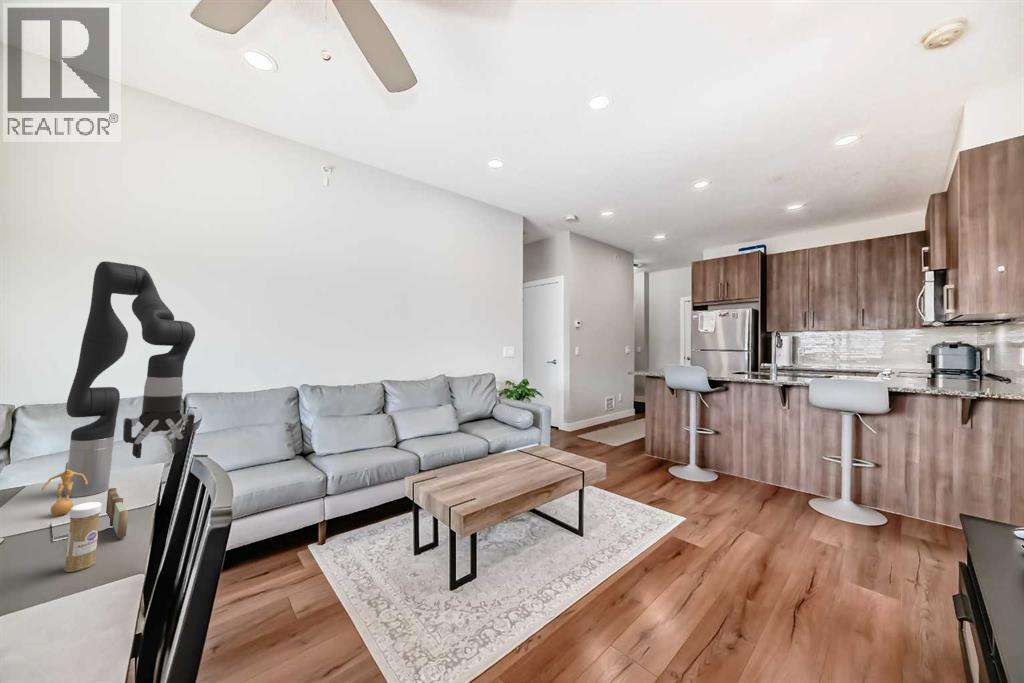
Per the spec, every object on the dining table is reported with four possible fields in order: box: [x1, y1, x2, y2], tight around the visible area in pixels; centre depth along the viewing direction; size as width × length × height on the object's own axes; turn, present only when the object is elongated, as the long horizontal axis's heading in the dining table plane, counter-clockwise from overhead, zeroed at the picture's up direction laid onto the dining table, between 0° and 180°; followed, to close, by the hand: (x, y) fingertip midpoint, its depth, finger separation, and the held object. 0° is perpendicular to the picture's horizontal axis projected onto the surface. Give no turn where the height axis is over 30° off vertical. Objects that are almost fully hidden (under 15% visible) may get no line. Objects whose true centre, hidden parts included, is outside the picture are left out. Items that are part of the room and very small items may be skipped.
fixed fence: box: [105, 487, 124, 526], centre depth 102 cm, size 12×2×7 cm, turn 53°
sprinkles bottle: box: [63, 501, 102, 573], centre depth 81 cm, size 5×5×14 cm
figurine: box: [41, 470, 88, 516], centre depth 103 cm, size 8×6×12 cm
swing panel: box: [113, 502, 129, 539], centre depth 95 cm, size 9×2×6 cm, turn 53°
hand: (157, 454), depth 99 cm, fingers open, 7 cm apart
